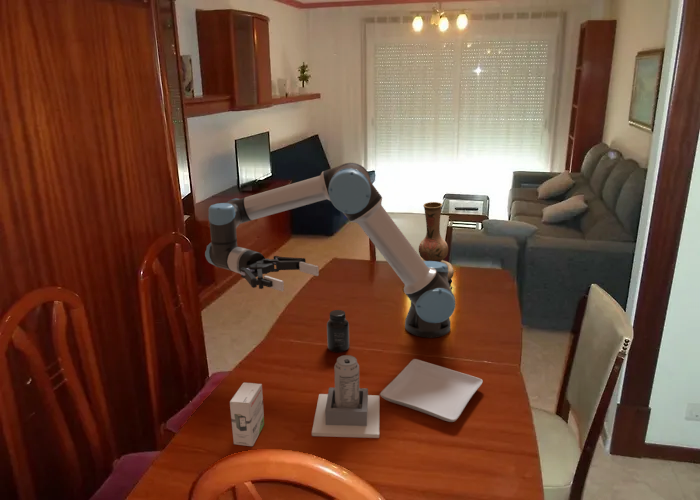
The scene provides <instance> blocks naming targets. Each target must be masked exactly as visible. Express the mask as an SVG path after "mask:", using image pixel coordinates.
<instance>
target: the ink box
mask: <svg viewBox="0 0 700 500" xmlns="http://www.w3.org/2000/svg"><path fill="white" fill-rule="evenodd" d="M263 399H264V396H263V384H262V383H255V382H243V383H242V384H241V385H240V387H239V388H238V389H237V391H236V392H235V394H234V395H233V396H232V398H231V399H230V401H229V407H230V408H229V409H230V410H229V411H230V420H231V429H232V430H231V431H232V439H233V445H238V446H245V447H246V446H247V447H253V446H254V445H255V443H256V441H257V439H258V437H259V435H260V434H261V432H262V430H263V428H264V426H265V416H264V415H265V414H264V413H265V412H264V400H263Z"/></svg>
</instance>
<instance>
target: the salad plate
mask: <svg viewBox="0 0 700 500" xmlns="http://www.w3.org/2000/svg"><path fill="white" fill-rule="evenodd" d="M483 382H484V381H483V379H482V378H480V377H476V376H473V375H471V374H468V373H463V372H460V371H457V370H453V369H451V368H447V367H445V366H441V365H438V364H434V363H430V362H427V361H424V360H421V359H418V358H413V359H412V360H411V361H410V362H409V363H408V364H407V365H406V366H405V367H404V368H403V369H402V370H401V372H399V374H397V376H396V377H394V379H393V380H391V382H390V383H388V384H387V385H386V386H385V387H384V388H383V389H382V390H381V392H379V395H380V397H381V398H382V399H384V400H386V401H387V402H390V403H393V404H395V405H396V404H397V405H399V406H403V407H406V408H409V409H412V410H414V411H418V412H421V413H423V414H425V415H429V416H432V417H434V418H437V419H440V420H442V421H446V422H449V423H453V422H456V421H457V420H458V419H459V418H460V416H461V415H462V413H463V411H464V410H465V408H466V406H467V405H468V404H469V401H470V400H471V399H472V398H473V396H474V395H475V393H476V392H477V391H478V390H479V388H480V387H481V386H482V384H483Z"/></svg>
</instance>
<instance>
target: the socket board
mask: <svg viewBox="0 0 700 500" xmlns="http://www.w3.org/2000/svg"><path fill="white" fill-rule="evenodd" d="M380 397H381V395H380V394H379V395H374V394H373V395H372V394H369V389H368V388H367V387H366V388H364V387H363V388H361V387H359V409H350V408H335V387H328V392H327V393H319V394H318V399H317V404H316V409H315V414H314V418H313V423H312V424H313V425H312V429H311V437H334V438H336V437H337V438H364V439H366V438H369V439H379V438H380Z"/></svg>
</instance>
